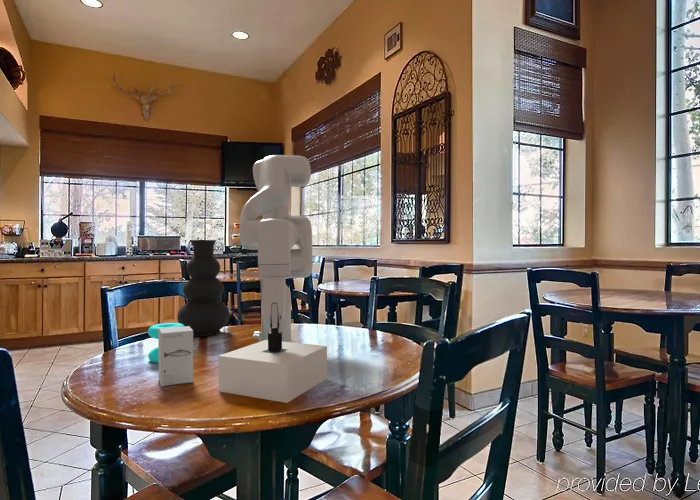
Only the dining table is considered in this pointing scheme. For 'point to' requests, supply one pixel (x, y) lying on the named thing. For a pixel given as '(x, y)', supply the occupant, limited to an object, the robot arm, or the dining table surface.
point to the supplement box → (175, 355)
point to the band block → (272, 370)
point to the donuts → (153, 333)
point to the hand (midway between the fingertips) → (275, 349)
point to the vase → (203, 292)
